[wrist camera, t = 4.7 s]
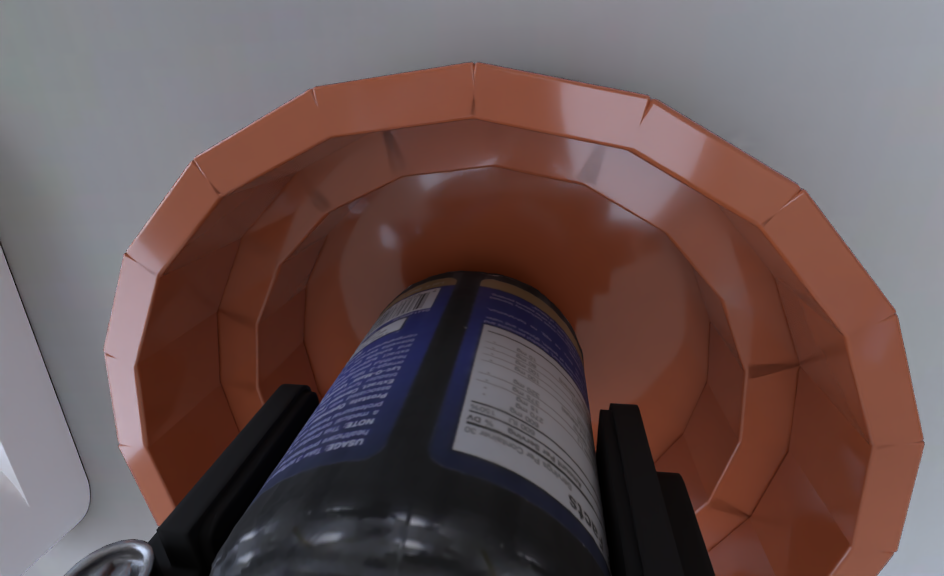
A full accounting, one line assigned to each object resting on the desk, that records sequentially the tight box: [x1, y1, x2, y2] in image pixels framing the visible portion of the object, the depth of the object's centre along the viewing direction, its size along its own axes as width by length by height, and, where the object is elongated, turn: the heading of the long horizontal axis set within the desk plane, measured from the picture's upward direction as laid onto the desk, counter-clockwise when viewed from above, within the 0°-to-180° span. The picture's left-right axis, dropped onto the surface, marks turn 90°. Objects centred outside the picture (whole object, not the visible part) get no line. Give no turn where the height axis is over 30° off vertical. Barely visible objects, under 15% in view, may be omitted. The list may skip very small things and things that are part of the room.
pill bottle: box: [209, 271, 612, 576], centre depth 9 cm, size 6×6×11 cm
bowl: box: [103, 62, 925, 576], centre depth 13 cm, size 17×17×6 cm
